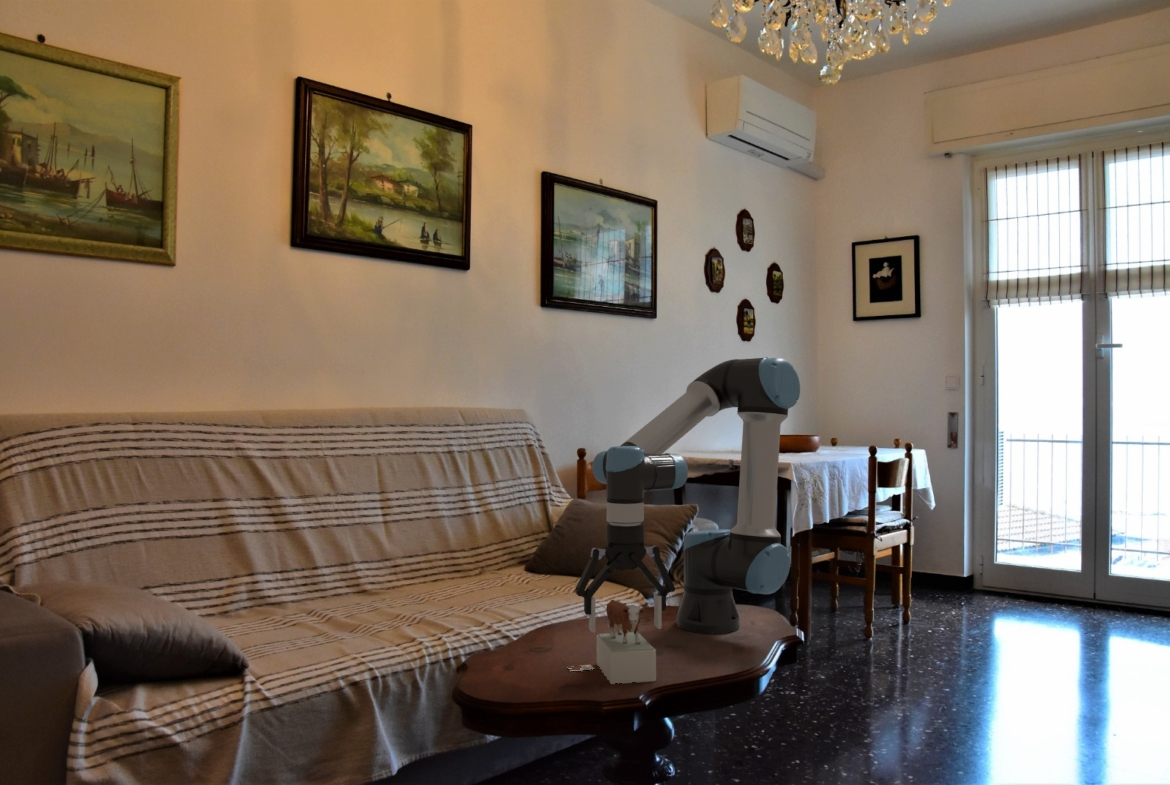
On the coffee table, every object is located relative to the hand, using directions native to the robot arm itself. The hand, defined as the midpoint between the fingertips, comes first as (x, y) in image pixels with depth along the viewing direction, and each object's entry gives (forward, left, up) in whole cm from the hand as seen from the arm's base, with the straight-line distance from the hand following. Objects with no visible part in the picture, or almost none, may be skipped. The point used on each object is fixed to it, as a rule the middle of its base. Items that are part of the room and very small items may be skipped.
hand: (625, 629), depth 176 cm
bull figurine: (0, 0, -3) cm, 3 cm away
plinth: (0, 0, -9) cm, 9 cm away
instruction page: (+8, -4, -9) cm, 13 cm away
